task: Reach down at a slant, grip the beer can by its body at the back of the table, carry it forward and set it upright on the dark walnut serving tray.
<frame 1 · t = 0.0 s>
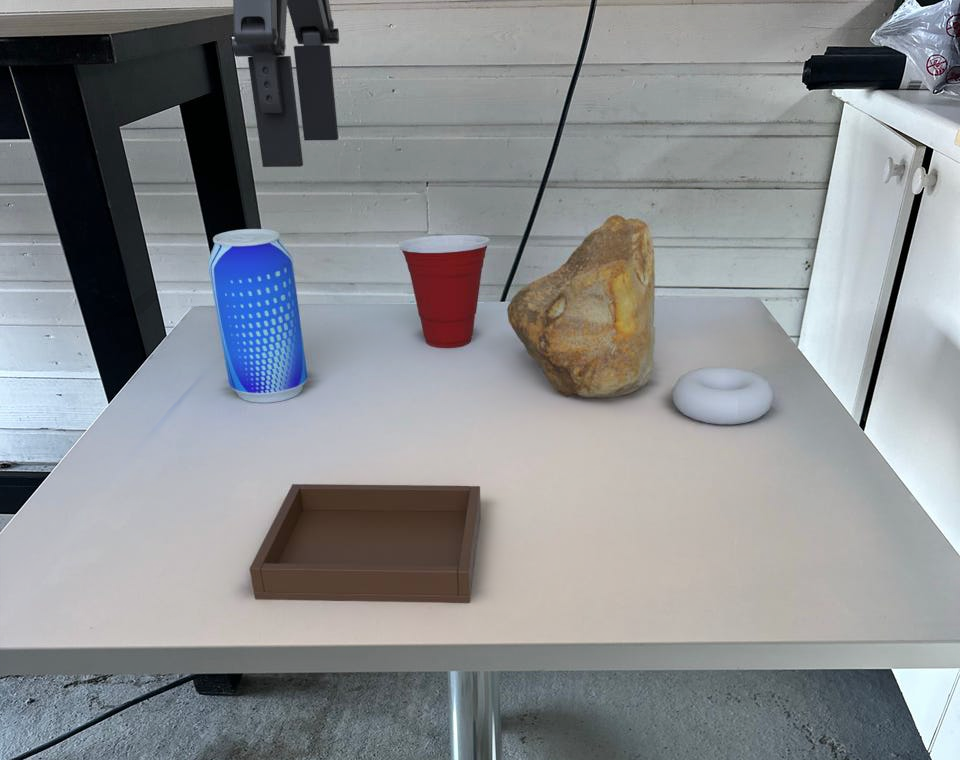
hand: (303, 152, 70), 26 cm above the table, tool pointing down, fingers open, 13 cm apart
donut: (719, 412, 94), on the table
tray: (375, 553, 72), on the table
beer can: (270, 393, 101), on the table
plastic cup: (447, 342, 115), on the table
rough brown rock: (579, 372, 105), on the table
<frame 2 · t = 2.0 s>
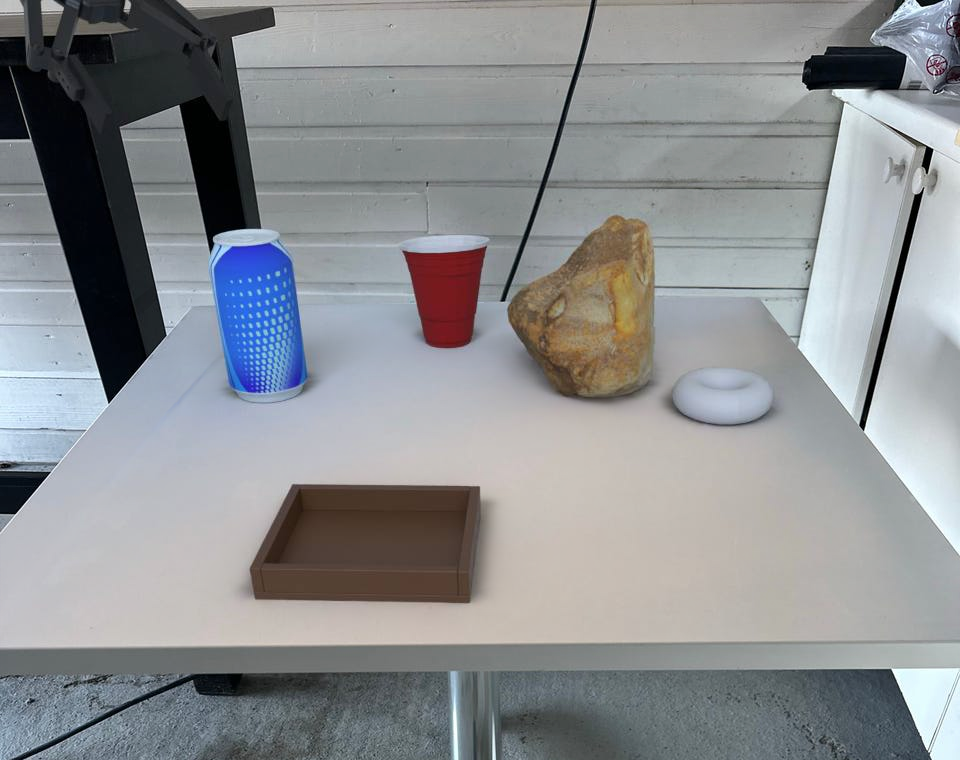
hand: (169, 117, 92), 26 cm above the table, tool tilted 45°, fingers open, 13 cm apart
nothing on the table moved.
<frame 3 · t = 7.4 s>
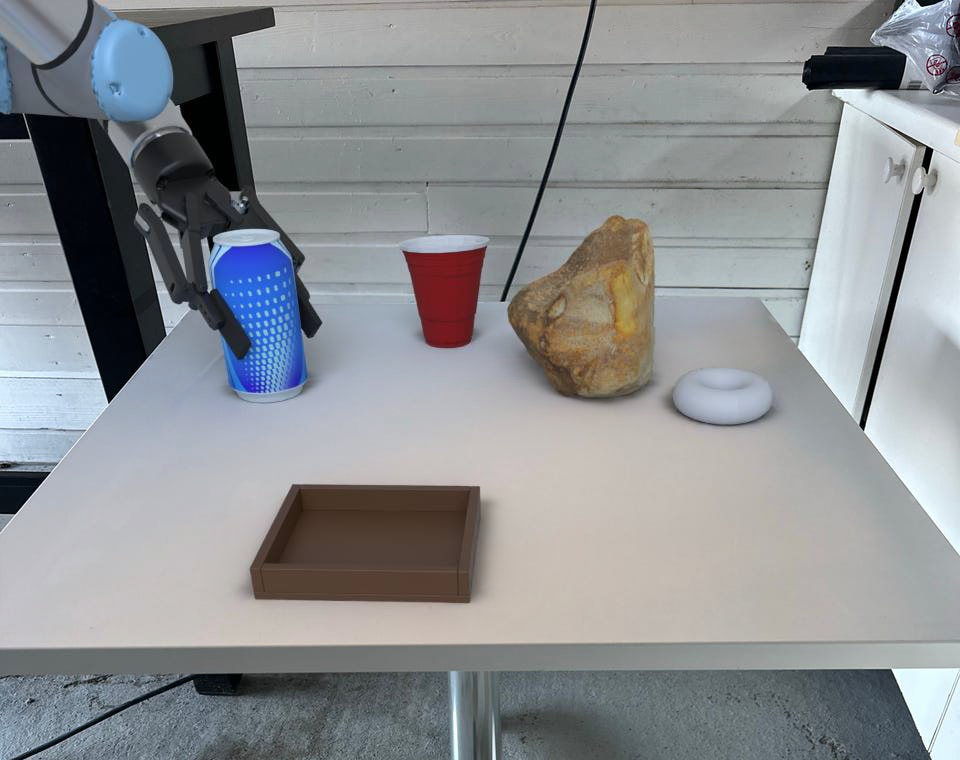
hand: (281, 341, 96), 6 cm above the table, tool tilted 45°, fingers closed on beer can, 8 cm apart
beer can: (270, 393, 101), on the table, touching gripper
everything else where it was.
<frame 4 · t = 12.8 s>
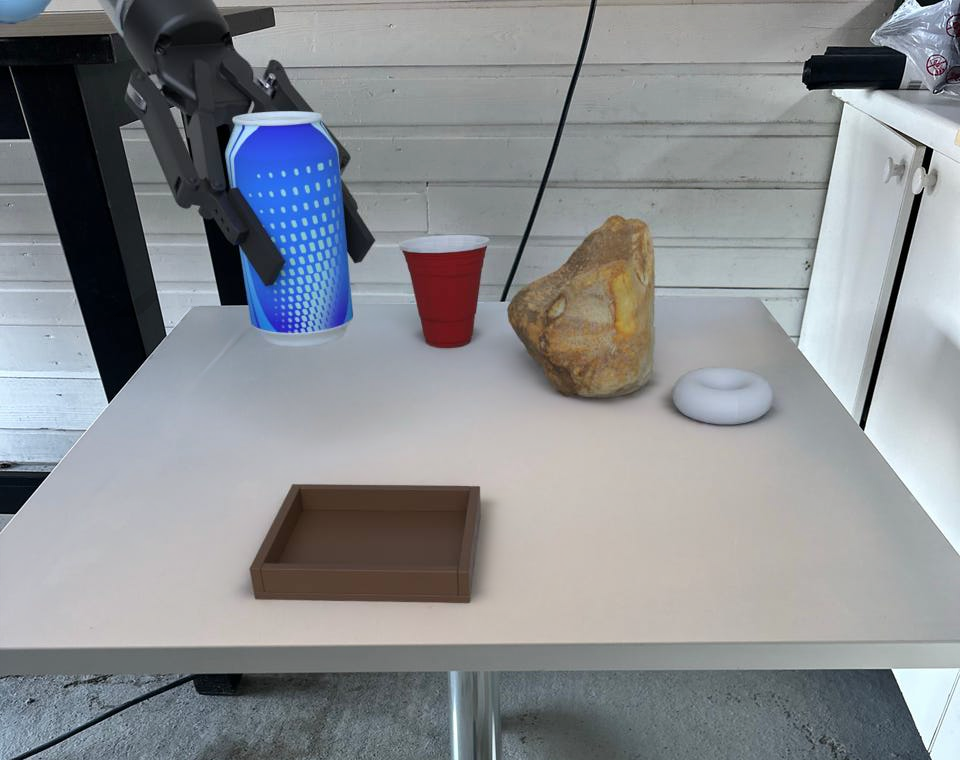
hand: (321, 262, 72), 19 cm above the table, tool tilted 45°, fingers closed on beer can, 8 cm apart
beer can: (304, 336, 77), point 12 cm above the table, touching gripper
everything else where it was.
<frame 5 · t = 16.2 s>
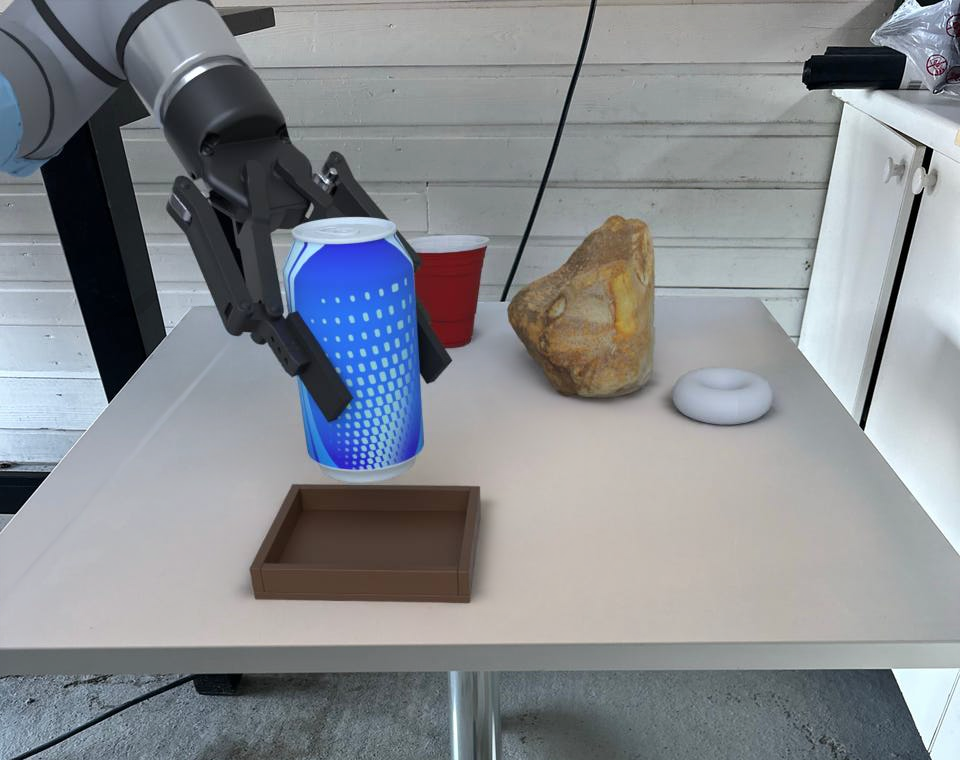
hand: (392, 390, 62), 14 cm above the table, tool tilted 45°, fingers closed on beer can, 8 cm apart
beer can: (367, 465, 67), point 7 cm above the table, touching gripper
everything else where it was.
when the fingers open (7 cm above the table, at t = 18.6 s): beer can stays where it is, resting on tray.
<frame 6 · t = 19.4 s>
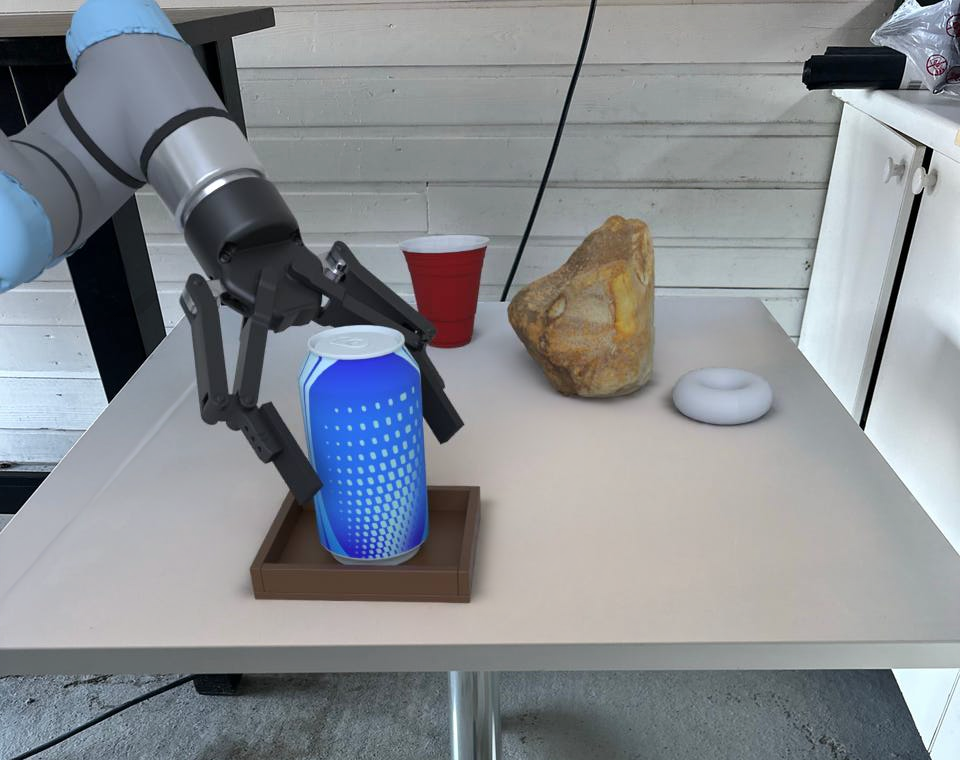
hand: (386, 464, 66), 8 cm above the table, tool tilted 45°, fingers open, 13 cm apart
beer can: (376, 548, 71), resting on tray
everything else where it was.
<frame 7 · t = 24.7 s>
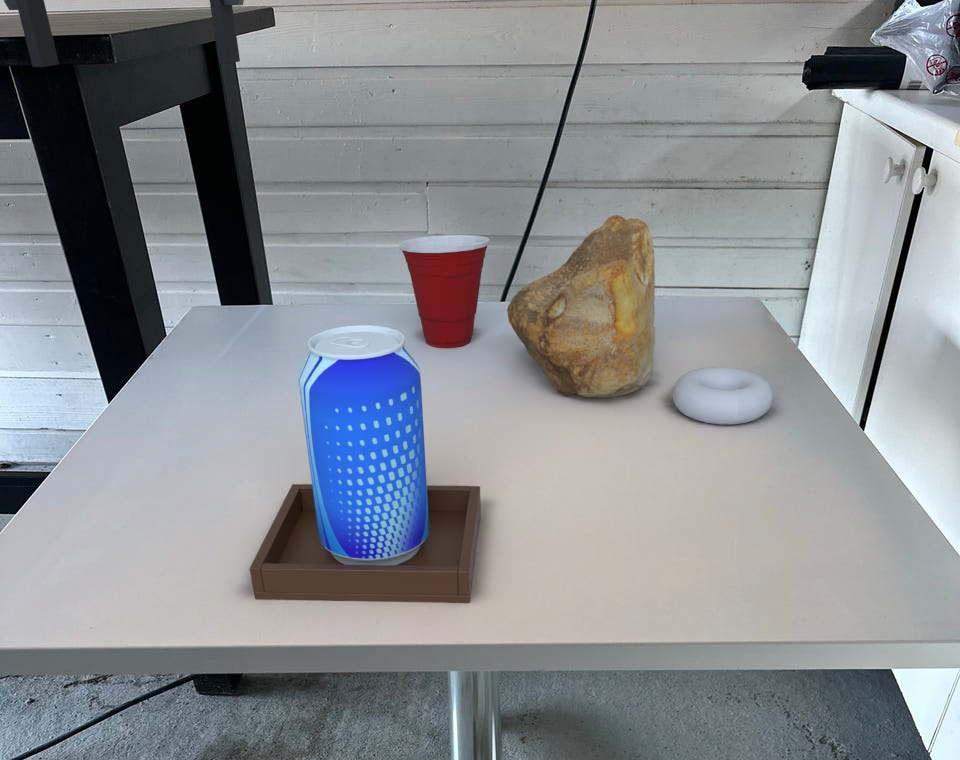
hand: (137, 65, 67), 32 cm above the table, tool pointing down, fingers open, 13 cm apart
nothing on the table moved.
at the end: beer can inside the target area in the tray (0.0 cm from its centre), point 0.4 cm above the tray's base; beer can tilted 0°; the gripper is holding nothing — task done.
